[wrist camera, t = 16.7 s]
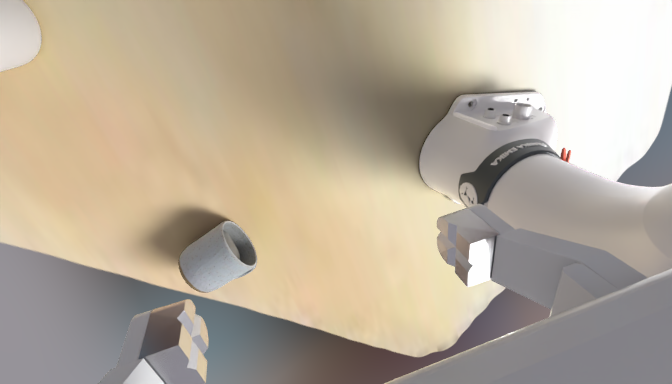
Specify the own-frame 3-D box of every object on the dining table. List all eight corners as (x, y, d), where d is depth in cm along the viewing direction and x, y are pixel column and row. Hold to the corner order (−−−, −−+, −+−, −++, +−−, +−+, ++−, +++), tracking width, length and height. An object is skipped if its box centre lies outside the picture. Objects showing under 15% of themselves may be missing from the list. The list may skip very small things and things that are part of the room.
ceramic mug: (177, 243, 47) (169, 281, 40) (222, 210, 46) (222, 243, 40) (228, 280, 53) (228, 319, 46) (268, 252, 52) (274, 287, 46)
